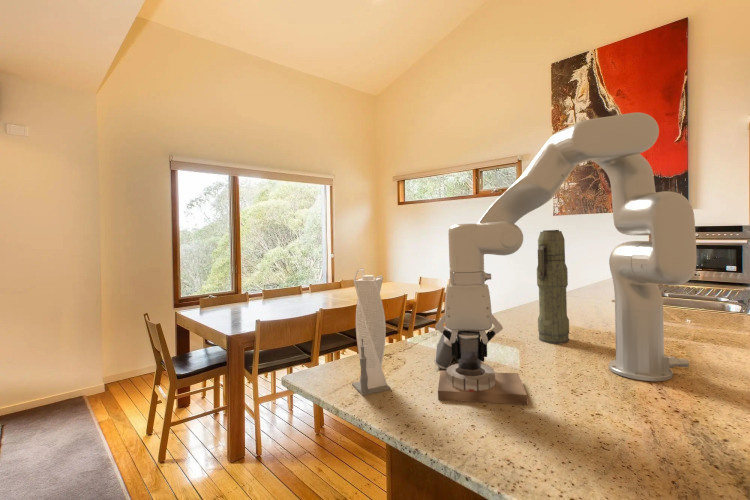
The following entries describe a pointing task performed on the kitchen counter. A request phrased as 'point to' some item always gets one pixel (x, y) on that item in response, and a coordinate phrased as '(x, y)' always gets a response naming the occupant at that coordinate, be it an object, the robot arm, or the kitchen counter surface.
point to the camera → (443, 352)
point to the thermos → (552, 288)
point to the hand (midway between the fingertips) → (469, 358)
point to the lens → (469, 350)
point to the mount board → (492, 395)
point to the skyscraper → (370, 334)
